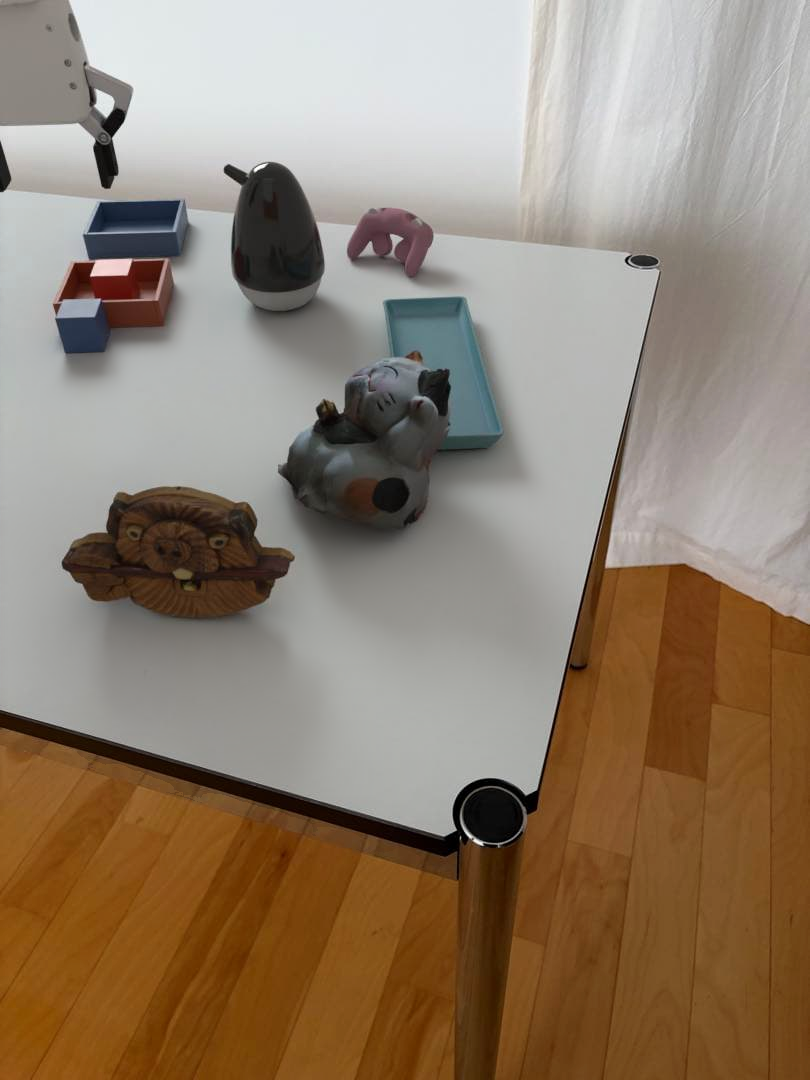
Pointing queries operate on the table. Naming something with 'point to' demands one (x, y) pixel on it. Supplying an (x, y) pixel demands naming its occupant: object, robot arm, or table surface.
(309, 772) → the table surface
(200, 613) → the wooden carving
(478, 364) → the rectangular tray
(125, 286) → the red block
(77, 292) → the red bin
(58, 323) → the blue block
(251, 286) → the pump dispenser
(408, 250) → the video game controller
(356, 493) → the lucky cat figurine
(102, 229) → the blue bin
